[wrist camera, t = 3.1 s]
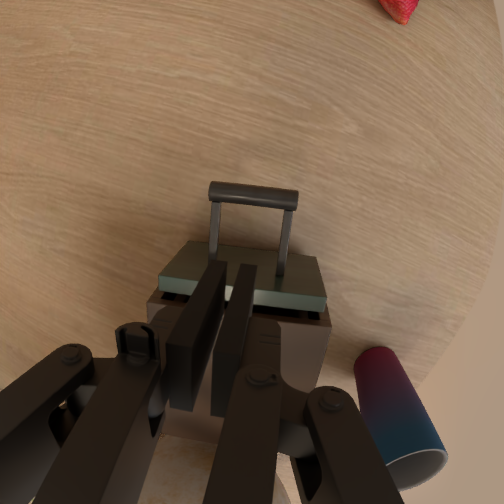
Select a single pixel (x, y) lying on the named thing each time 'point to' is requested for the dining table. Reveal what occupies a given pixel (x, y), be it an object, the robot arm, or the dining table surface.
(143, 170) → the dining table surface
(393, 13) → the fruit
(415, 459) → the cup
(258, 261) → the drawer
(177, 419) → the cabinet
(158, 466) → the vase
